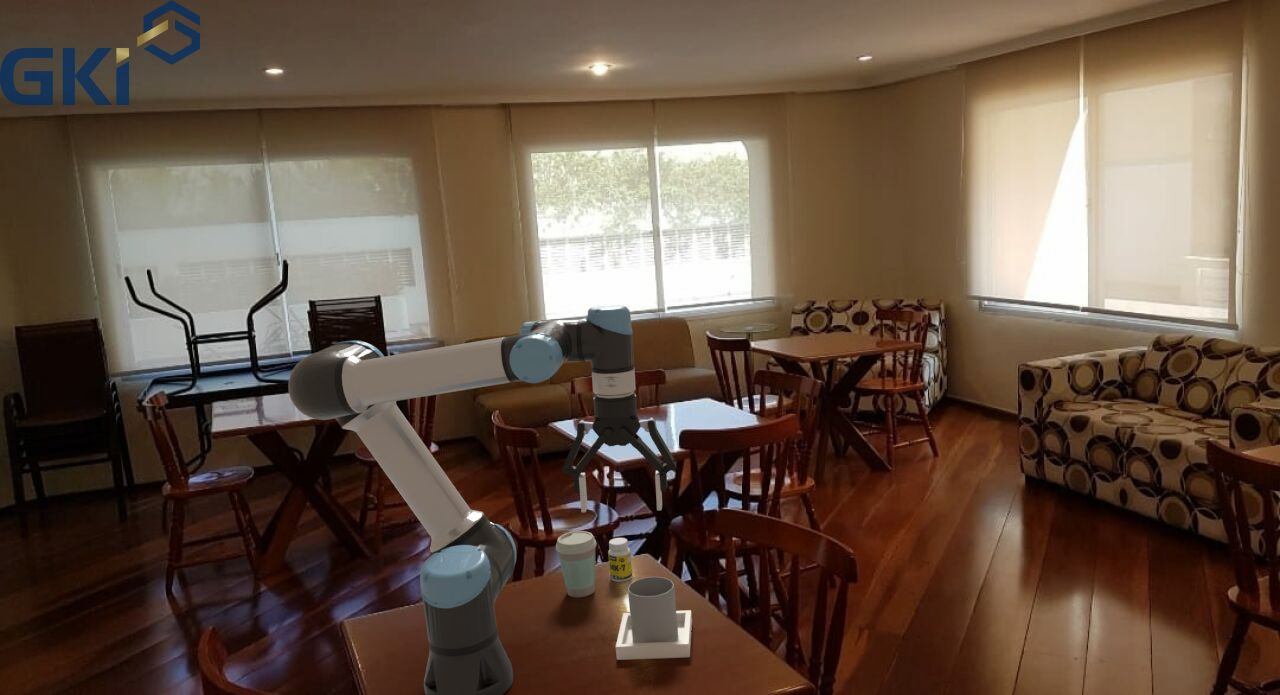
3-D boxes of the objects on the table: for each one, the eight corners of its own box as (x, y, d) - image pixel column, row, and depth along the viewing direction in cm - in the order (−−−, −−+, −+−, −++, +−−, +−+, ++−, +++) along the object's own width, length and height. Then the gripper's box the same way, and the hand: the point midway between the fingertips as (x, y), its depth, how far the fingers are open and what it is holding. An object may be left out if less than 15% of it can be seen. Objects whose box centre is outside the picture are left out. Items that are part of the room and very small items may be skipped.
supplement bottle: (607, 582, 194) (603, 544, 193) (614, 572, 199) (610, 536, 197) (628, 582, 193) (625, 545, 191) (635, 573, 197) (631, 537, 196)
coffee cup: (585, 579, 197) (579, 526, 195) (609, 590, 190) (603, 536, 188) (552, 592, 191) (546, 539, 189) (576, 604, 185) (570, 548, 183)
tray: (616, 659, 161) (615, 646, 161) (624, 625, 174) (623, 613, 173) (689, 657, 160) (688, 643, 159) (692, 622, 172) (691, 610, 172)
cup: (674, 649, 162) (669, 596, 160) (629, 648, 163) (624, 596, 162) (680, 626, 170) (676, 576, 168) (637, 626, 172) (633, 576, 170)
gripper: (540, 401, 156) (549, 518, 160) (684, 395, 154) (690, 514, 158) (548, 391, 164) (557, 503, 167) (686, 386, 161) (691, 499, 165)
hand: (621, 509), depth 162 cm, fingers open, 13 cm apart
